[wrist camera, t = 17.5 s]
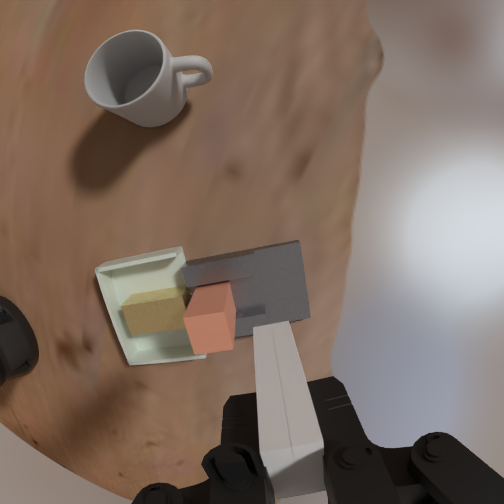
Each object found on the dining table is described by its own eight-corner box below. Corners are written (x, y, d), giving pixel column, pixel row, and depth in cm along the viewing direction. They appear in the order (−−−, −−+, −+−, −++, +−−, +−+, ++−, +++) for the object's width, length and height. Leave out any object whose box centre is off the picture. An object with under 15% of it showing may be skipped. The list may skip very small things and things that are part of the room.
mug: (124, 133, 33) (81, 119, 22) (124, 73, 31) (85, 42, 20) (219, 118, 33) (208, 92, 22) (215, 56, 31) (204, 13, 20)
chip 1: (140, 321, 38) (131, 335, 34) (131, 294, 37) (120, 306, 33) (167, 317, 38) (159, 331, 34) (158, 289, 37) (150, 301, 33)
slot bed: (204, 332, 39) (202, 342, 36) (185, 261, 36) (181, 267, 34) (308, 313, 38) (312, 322, 36) (298, 239, 36) (302, 244, 34)
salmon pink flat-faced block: (205, 316, 37) (194, 354, 28) (196, 285, 36) (182, 318, 27) (236, 311, 37) (233, 349, 28) (228, 279, 36) (224, 311, 27)
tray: (136, 352, 40) (129, 365, 36) (105, 261, 36) (94, 269, 33) (208, 344, 39) (205, 357, 36) (182, 245, 36) (175, 252, 33)
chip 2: (167, 317, 38) (159, 331, 34) (158, 289, 37) (150, 301, 33) (196, 313, 38) (191, 327, 34) (188, 284, 37) (181, 296, 33)
